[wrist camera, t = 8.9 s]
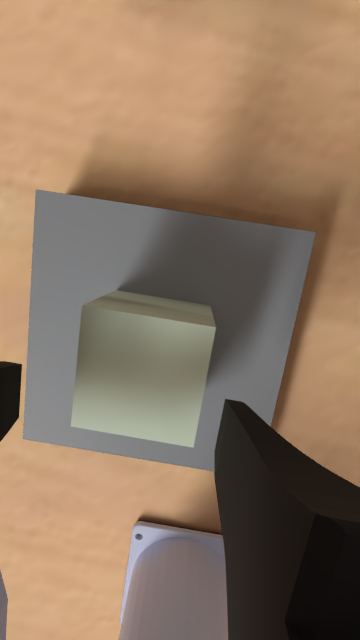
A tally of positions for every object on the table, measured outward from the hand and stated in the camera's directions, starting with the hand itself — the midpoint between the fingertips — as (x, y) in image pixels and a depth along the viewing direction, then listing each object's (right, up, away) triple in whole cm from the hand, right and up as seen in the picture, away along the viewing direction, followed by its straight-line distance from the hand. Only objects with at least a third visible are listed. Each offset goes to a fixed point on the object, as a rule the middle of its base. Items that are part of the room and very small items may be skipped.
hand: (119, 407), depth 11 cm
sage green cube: (+1, +2, +6) cm, 6 cm away
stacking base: (+1, +2, +9) cm, 9 cm away
